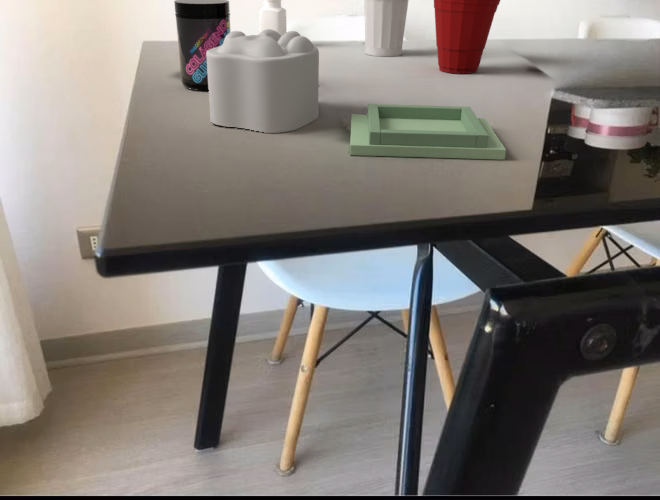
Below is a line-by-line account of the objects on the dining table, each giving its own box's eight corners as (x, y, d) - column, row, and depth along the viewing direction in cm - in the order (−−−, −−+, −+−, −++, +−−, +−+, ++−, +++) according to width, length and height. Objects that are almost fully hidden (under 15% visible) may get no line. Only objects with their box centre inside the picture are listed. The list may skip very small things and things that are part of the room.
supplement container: (174, 90, 80) (166, 2, 75) (190, 80, 86) (183, -2, 81) (226, 93, 79) (221, 4, 74) (238, 82, 85) (235, -1, 81)
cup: (394, 48, 113) (398, -24, 108) (414, 56, 106) (420, -21, 101) (353, 50, 111) (355, -24, 105) (371, 58, 104) (375, -21, 99)
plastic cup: (510, 73, 94) (523, -14, 89) (455, 79, 89) (464, -12, 84) (462, 61, 102) (470, -19, 97) (408, 67, 97) (414, -18, 92)
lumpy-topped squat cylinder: (197, 123, 66) (191, 37, 62) (256, 98, 77) (253, 23, 73) (287, 135, 62) (286, 45, 59) (335, 107, 73) (337, 29, 69)
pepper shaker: (268, 43, 117) (266, -13, 113) (287, 44, 116) (287, -12, 111) (258, 46, 113) (256, -11, 109) (279, 47, 112) (277, -11, 108)
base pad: (483, 127, 67) (486, 106, 66) (504, 160, 57) (508, 136, 56) (351, 123, 67) (351, 103, 66) (349, 155, 57) (350, 131, 56)
